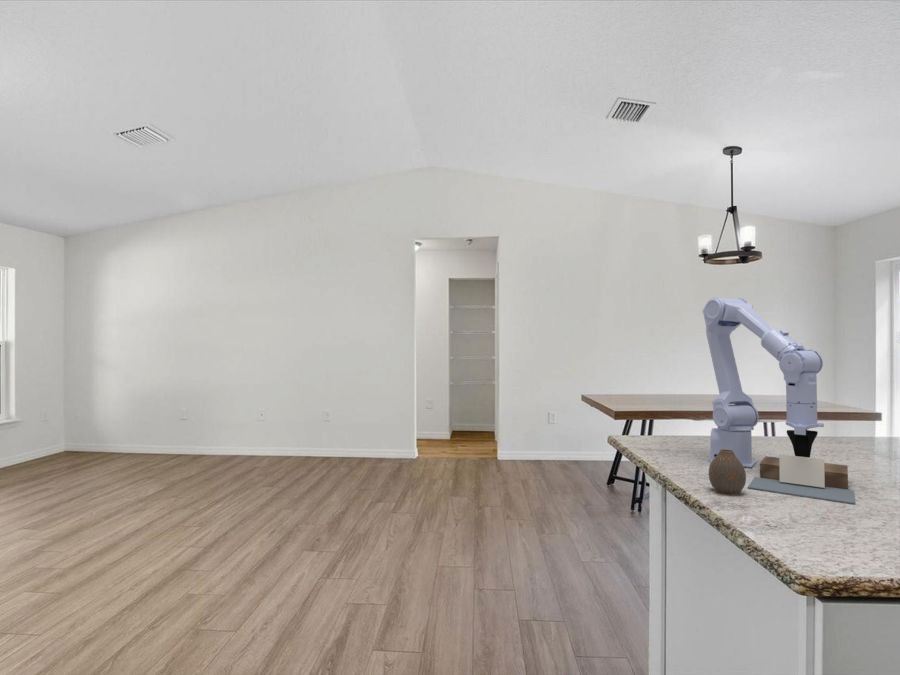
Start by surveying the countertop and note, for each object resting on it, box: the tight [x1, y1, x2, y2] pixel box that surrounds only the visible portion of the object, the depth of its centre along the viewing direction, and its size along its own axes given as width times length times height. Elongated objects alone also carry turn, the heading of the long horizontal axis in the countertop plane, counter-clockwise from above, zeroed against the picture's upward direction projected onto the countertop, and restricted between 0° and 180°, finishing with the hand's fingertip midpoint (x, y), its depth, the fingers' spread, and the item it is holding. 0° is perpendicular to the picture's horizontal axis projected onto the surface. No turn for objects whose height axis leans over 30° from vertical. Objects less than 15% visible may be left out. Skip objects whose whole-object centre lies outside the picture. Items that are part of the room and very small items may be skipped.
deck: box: [759, 455, 849, 490], centre depth 114 cm, size 16×10×4 cm, turn 51°
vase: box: [708, 449, 747, 495], centre depth 104 cm, size 7×7×9 cm
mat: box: [747, 476, 856, 506], centre depth 105 cm, size 18×11×1 cm, turn 51°
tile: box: [778, 453, 825, 488], centre depth 109 cm, size 8×6×2 cm
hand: (802, 462), depth 112 cm, fingers closed
